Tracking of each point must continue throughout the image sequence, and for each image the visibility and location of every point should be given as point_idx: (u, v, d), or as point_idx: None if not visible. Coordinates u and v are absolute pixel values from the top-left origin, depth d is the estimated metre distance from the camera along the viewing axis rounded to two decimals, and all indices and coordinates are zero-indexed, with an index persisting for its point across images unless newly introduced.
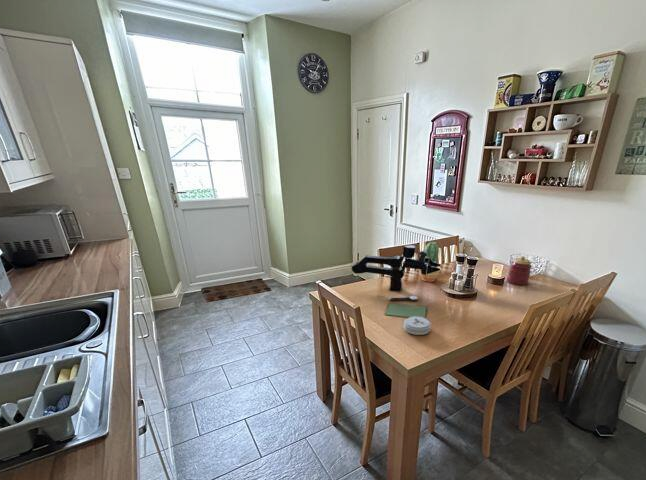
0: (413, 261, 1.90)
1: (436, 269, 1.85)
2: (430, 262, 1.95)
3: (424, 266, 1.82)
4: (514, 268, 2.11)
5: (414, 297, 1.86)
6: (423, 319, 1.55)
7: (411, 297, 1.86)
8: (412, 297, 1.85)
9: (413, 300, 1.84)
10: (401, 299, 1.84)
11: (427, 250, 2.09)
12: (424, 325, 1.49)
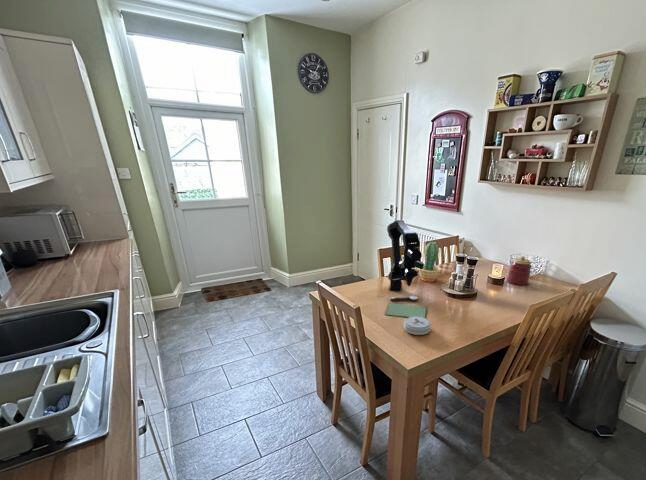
0: None
1: (409, 283, 1.76)
2: None
3: (415, 273, 1.70)
4: (514, 268, 2.11)
5: (414, 297, 1.86)
6: (423, 319, 1.55)
7: (411, 297, 1.86)
8: (412, 297, 1.85)
9: (413, 300, 1.84)
10: (401, 299, 1.84)
11: (427, 250, 2.09)
12: (424, 325, 1.49)
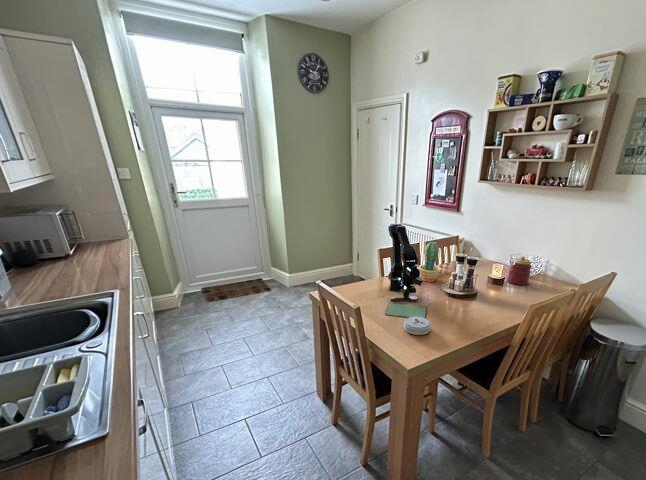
0: None
1: (406, 296, 1.83)
2: None
3: (414, 290, 1.74)
4: (514, 268, 2.11)
5: (414, 297, 1.86)
6: (423, 319, 1.55)
7: (411, 297, 1.86)
8: (412, 297, 1.85)
9: (413, 300, 1.84)
10: (401, 299, 1.84)
11: (427, 250, 2.09)
12: (424, 325, 1.49)
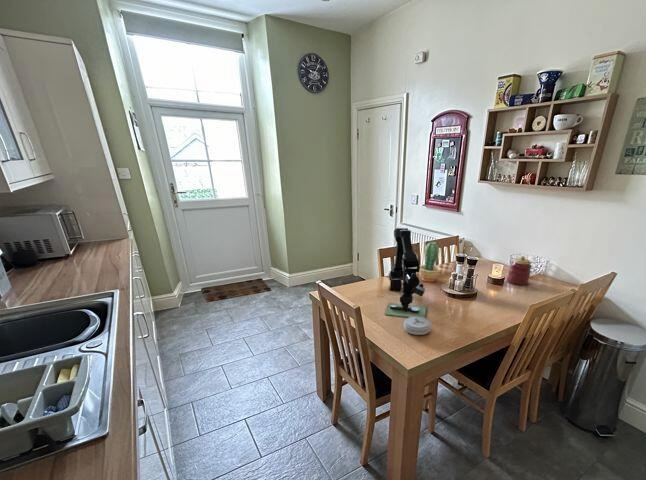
0: None
1: (405, 309, 1.66)
2: None
3: (409, 300, 1.60)
4: (514, 268, 2.11)
5: (416, 308, 1.71)
6: (423, 319, 1.55)
7: (413, 308, 1.72)
8: (414, 308, 1.71)
9: (413, 311, 1.70)
10: (401, 308, 1.72)
11: (427, 250, 2.09)
12: (424, 325, 1.49)
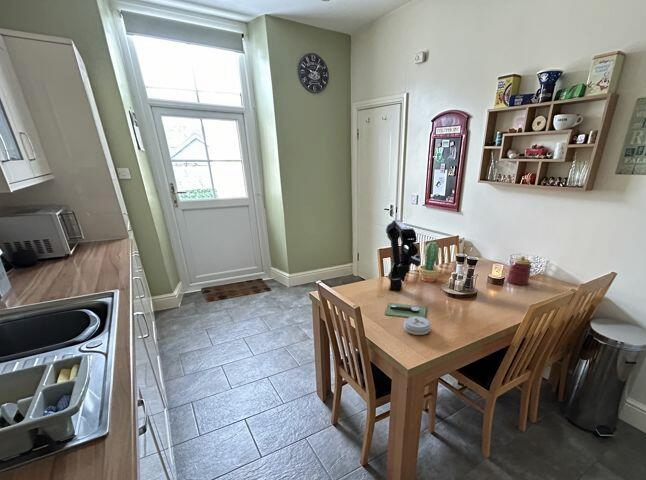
0: None
1: (402, 278, 1.78)
2: None
3: (406, 269, 1.72)
4: (514, 268, 2.11)
5: (416, 308, 1.71)
6: (423, 319, 1.55)
7: (413, 308, 1.72)
8: (414, 308, 1.71)
9: (413, 311, 1.70)
10: (401, 308, 1.72)
11: (427, 250, 2.09)
12: (424, 325, 1.49)
